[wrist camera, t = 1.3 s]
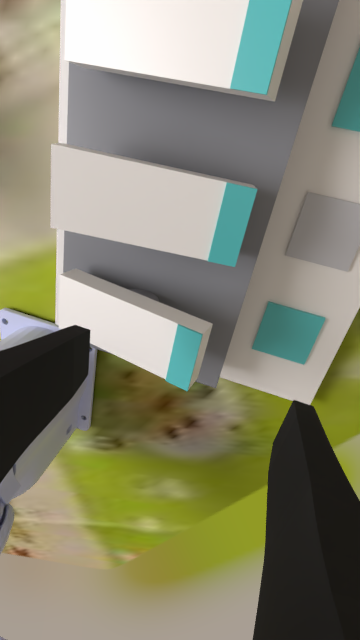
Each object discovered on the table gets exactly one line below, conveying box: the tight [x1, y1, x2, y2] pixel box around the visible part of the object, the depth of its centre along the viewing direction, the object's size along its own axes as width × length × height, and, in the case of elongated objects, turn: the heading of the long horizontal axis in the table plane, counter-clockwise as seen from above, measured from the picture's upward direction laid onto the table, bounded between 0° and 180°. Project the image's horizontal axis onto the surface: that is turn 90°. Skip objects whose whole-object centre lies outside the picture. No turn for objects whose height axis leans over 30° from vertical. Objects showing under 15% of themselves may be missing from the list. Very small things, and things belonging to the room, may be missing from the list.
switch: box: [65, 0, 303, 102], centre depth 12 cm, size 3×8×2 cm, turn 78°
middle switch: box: [51, 143, 257, 267], centre depth 15 cm, size 3×8×2 cm, turn 78°
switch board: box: [55, 0, 360, 405], centre depth 17 cm, size 21×18×4 cm
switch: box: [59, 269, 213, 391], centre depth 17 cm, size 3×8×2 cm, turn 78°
